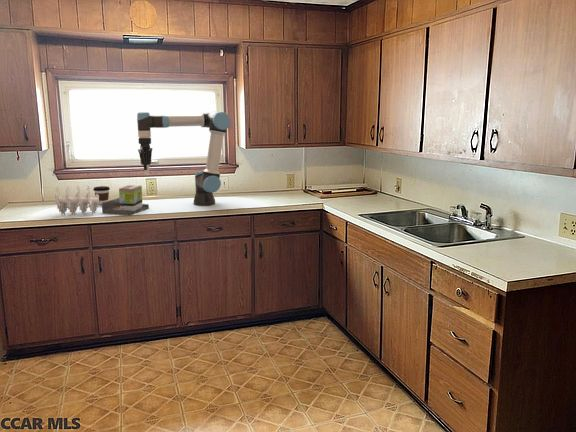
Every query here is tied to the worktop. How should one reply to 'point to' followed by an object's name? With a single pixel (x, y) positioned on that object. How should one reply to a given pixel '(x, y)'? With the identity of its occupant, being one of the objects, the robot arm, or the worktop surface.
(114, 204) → the tray
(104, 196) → the coffee cup
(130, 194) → the tea box
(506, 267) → the worktop surface
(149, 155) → the robot arm
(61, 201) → the grey translucent row part
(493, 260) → the worktop surface
